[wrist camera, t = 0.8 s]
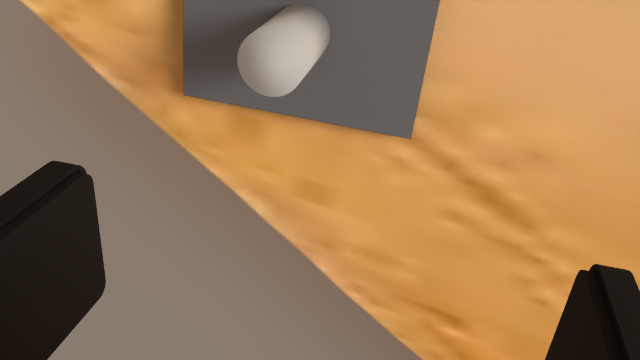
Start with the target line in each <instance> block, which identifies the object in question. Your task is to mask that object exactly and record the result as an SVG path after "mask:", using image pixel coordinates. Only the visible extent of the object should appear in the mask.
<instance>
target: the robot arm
mask: <svg viewBox="0 0 640 360" xmlns="http://www.w3.org/2000/svg"><path fill="white" fill-rule="evenodd" d="M105 283H106V280H105V271H104V263H103V255H102V247H101V239H100V232H99V224H98V216H97V208H96V200H95V192H94V184H93V179H92V177H91V176H90V175H88V174H87V173H86V171H85V169H84V168H83V167H82V166H80V165H74V164H69V163H64V162H59V161H51V162H49V163H47V164H46V165H44V166H43V167H42V168H40V169H39V170H37V171H36V172H34V173H33V174H32V175H30V176H29V177H27V178H26V179H24V180H23V181H21V182H20V183H19V184H17V185H16V186H14V187H13V188H12V189H10V190H9V191H7V192H6V193H4V194H3V195H1V196H0V360H47V359H48V358H49V357H50V356H51V354H52V353H53V352H54V351H55V350H56V349H57V347H58V346H59V345H60V344H61V343H62V341H63V340H64V339H65V338H66V337H67V336H68V335H69V333H70V332H71V331H72V330H73V329H74V328H75V326H76V325H77V324H78V323H79V322H80V321H81V319H82V318H83V317H84V316H85V315H86V314H87V313H88V311H89V310H90V309H91V308H92V307H93V306H94V304H95V303H96V302H97V301H98V300H99V298H100V297H101V296H102V294H103V292H104V288H105ZM545 360H640V291H639V289H638V286H637V284H636V281H635V279H634V276H633V274H632V273H631V271H629V270H624V269H619V268H614V267H609V266H603V265H598V264H595V265H593V266H592V267H591V268H590V270H589V271H586V270H580V271H579V272H578V274H577V276H576V279H575V281H574V284H573V287H572V289H571V292H570V295H569V297H568V300H567V303H566V305H565V308H564V311H563V313H562V316H561V318H560V321H559V324H558V326H557V329H556V332H555V334H554V337H553V340H552V342H551V345H550V348H549V350H548V353H547V356H546V358H545Z"/></svg>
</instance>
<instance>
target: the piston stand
mask: <svg viewBox="0 0 640 360" xmlns="http://www.w3.org/2000/svg"><path fill="white" fill-rule="evenodd" d="M439 1H440V0H183V59H184V95H186V96H191V97H196V98H202V99H207V100H212V101H217V102H222V103H227V104H232V105H238V106H243V107H248V108H253V109H258V110H263V111H269V112H274V113H279V114H284V115H289V116H294V117H299V118H305V119H310V120H315V121H320V122H325V123H330V124H335V125H341V126H346V127H351V128H356V129H361V130H366V131H371V132H377V133H382V134H387V135H392V136H397V137H402V138H407V139H411V135H412V130H413V126H414V121H415V116H416V111H417V106H418V102H419V97H420V92H421V87H422V82H423V78H424V73H425V68H426V63H427V58H428V54H429V49H430V44H431V39H432V34H433V30H434V25H435V20H436V15H437V10H438V6H439Z"/></svg>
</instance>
